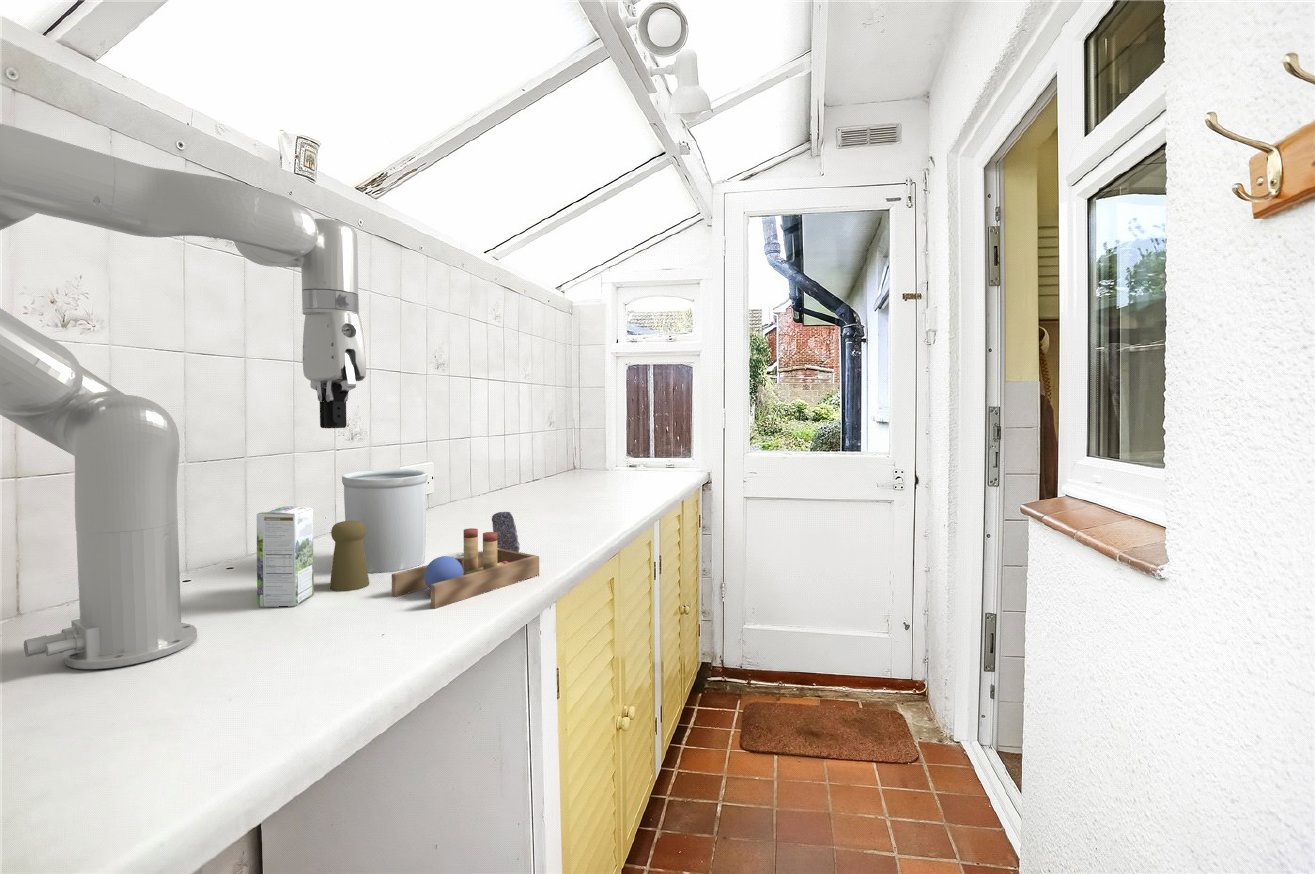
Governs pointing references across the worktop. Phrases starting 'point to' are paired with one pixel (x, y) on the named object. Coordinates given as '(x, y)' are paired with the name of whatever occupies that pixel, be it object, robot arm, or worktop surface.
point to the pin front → (482, 568)
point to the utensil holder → (389, 516)
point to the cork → (348, 557)
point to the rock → (505, 531)
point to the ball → (442, 570)
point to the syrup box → (284, 556)
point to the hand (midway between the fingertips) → (333, 427)
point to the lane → (469, 578)
